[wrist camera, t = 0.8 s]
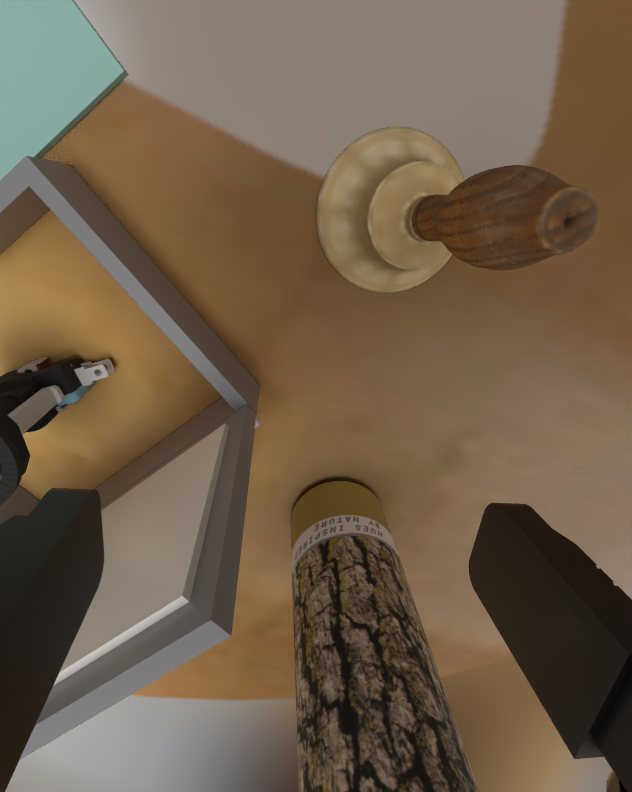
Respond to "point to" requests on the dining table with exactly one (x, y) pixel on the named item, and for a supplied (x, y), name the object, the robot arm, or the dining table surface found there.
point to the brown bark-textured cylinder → (364, 658)
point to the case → (146, 482)
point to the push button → (37, 407)
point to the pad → (48, 75)
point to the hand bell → (439, 212)
